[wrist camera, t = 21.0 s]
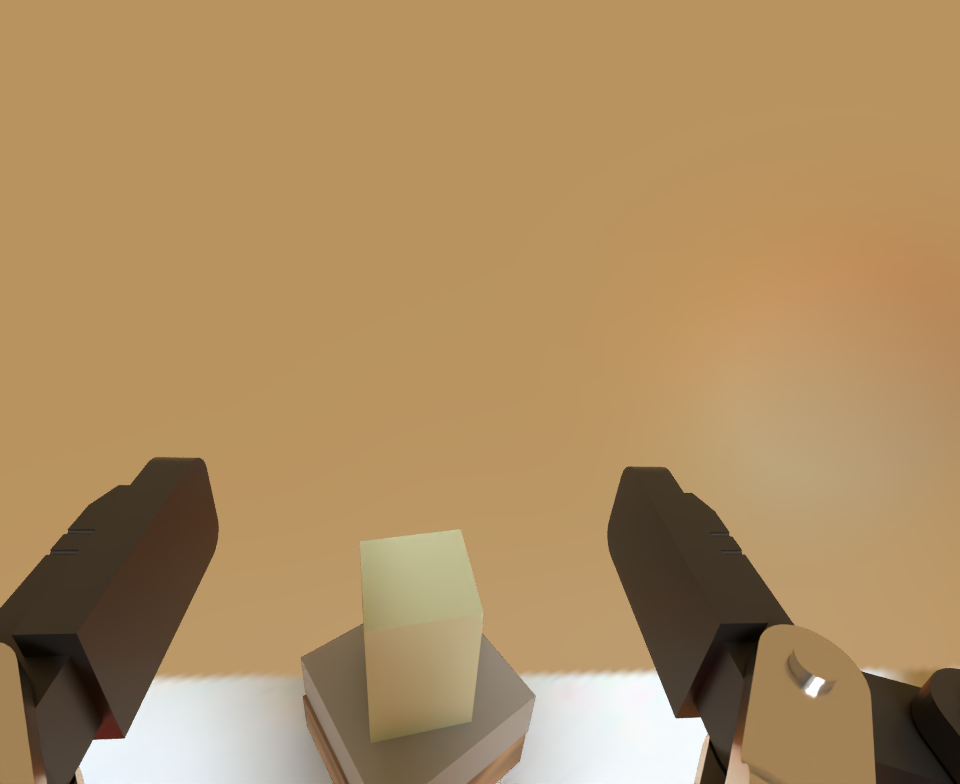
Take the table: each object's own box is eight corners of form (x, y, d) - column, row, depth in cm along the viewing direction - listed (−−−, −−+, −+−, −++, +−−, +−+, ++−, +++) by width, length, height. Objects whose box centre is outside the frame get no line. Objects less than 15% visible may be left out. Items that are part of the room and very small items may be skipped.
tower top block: (383, 854, 28) (382, 819, 26) (305, 693, 36) (300, 657, 34) (527, 731, 35) (535, 696, 33) (436, 616, 42) (438, 582, 40)
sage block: (370, 743, 30) (363, 632, 25) (365, 648, 35) (359, 541, 30) (471, 721, 31) (484, 613, 26) (452, 634, 36) (460, 529, 31)
